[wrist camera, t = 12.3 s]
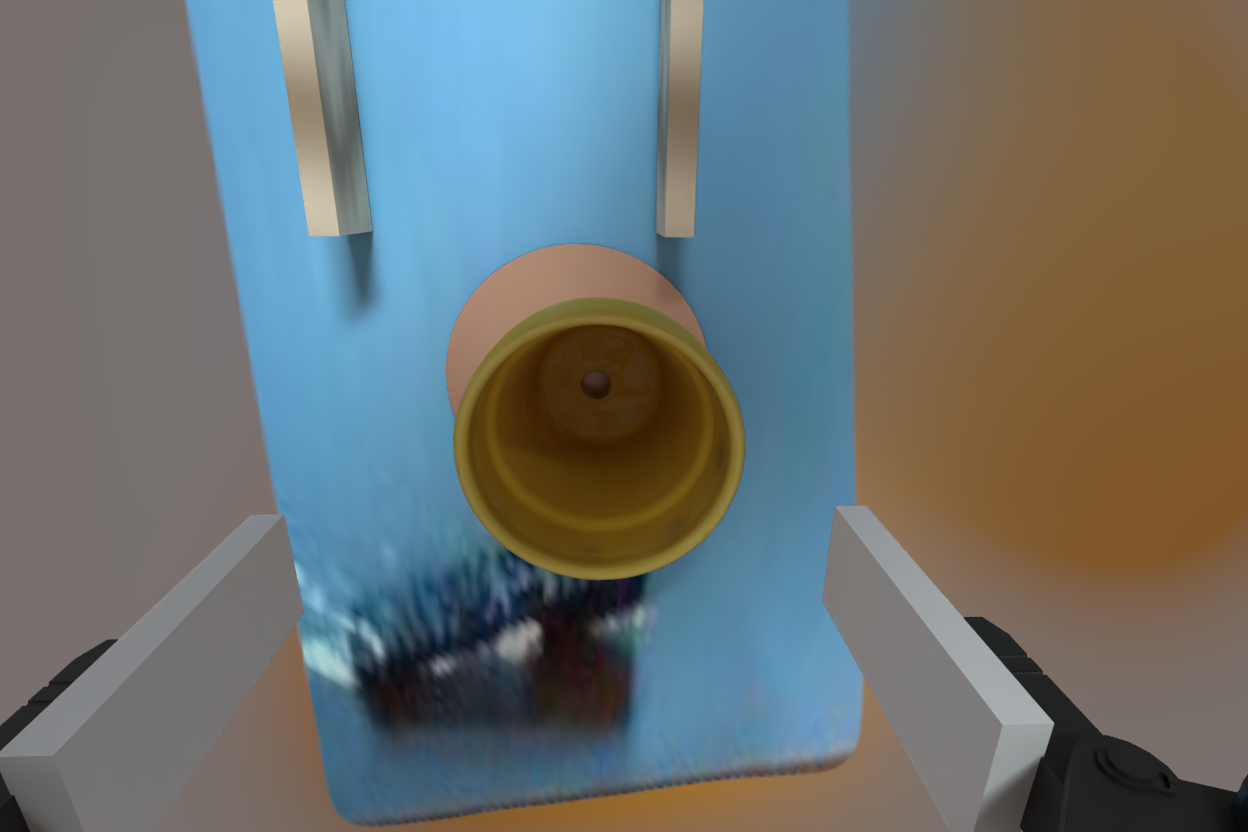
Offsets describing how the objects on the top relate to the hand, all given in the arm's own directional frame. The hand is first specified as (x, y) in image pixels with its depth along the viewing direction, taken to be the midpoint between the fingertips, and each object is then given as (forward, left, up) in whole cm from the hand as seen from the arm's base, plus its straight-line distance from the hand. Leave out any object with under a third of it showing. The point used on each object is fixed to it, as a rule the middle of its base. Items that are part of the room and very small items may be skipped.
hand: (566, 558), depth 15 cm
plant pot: (0, +1, -17) cm, 17 cm away
